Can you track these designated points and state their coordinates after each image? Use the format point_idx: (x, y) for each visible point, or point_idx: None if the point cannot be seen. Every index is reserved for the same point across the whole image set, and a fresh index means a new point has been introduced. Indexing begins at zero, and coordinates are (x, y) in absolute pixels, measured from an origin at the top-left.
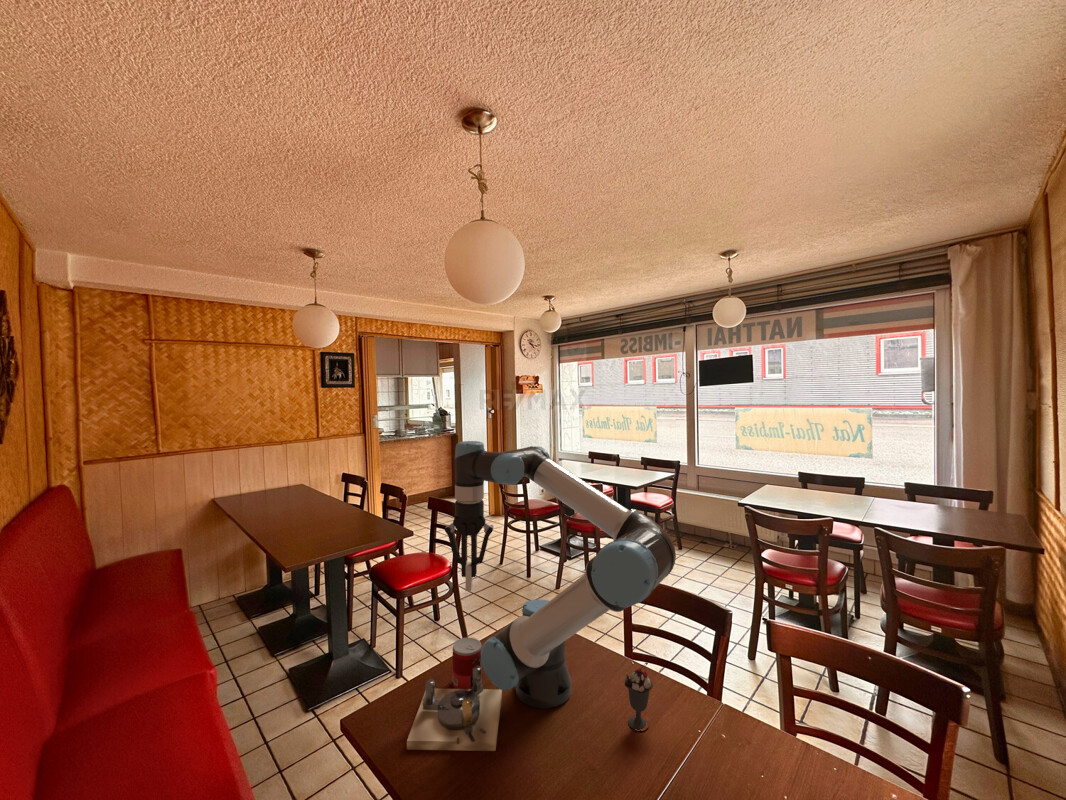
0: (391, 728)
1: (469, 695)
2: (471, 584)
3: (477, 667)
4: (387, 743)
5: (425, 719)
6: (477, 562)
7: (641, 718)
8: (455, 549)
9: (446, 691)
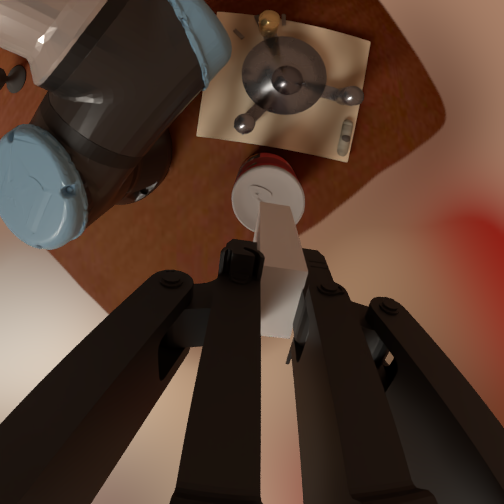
0: (394, 94)
1: (263, 96)
2: (257, 224)
3: (243, 126)
4: (396, 65)
5: (344, 79)
6: (202, 291)
7: (9, 87)
8: (438, 383)
9: (308, 145)
